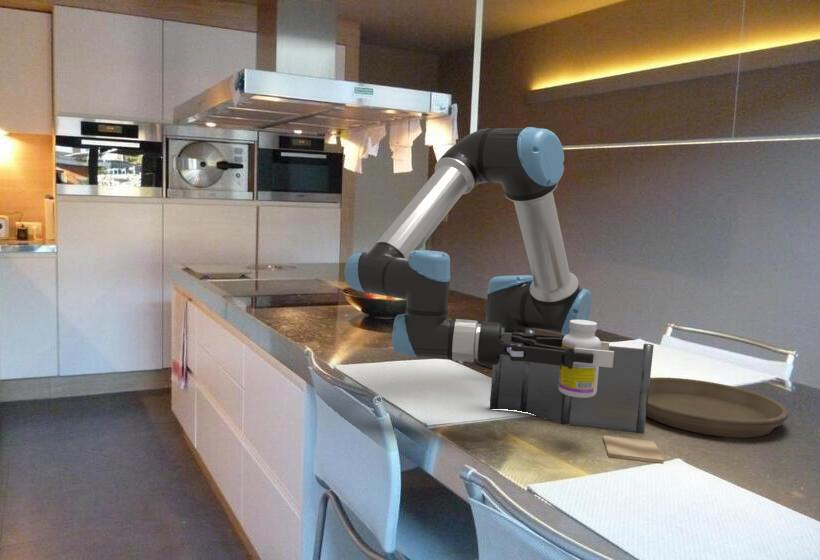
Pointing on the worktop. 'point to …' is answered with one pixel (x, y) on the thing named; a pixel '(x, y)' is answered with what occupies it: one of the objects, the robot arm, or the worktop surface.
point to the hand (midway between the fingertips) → (610, 354)
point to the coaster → (632, 449)
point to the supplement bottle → (580, 377)
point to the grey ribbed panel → (609, 408)
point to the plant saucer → (712, 408)
